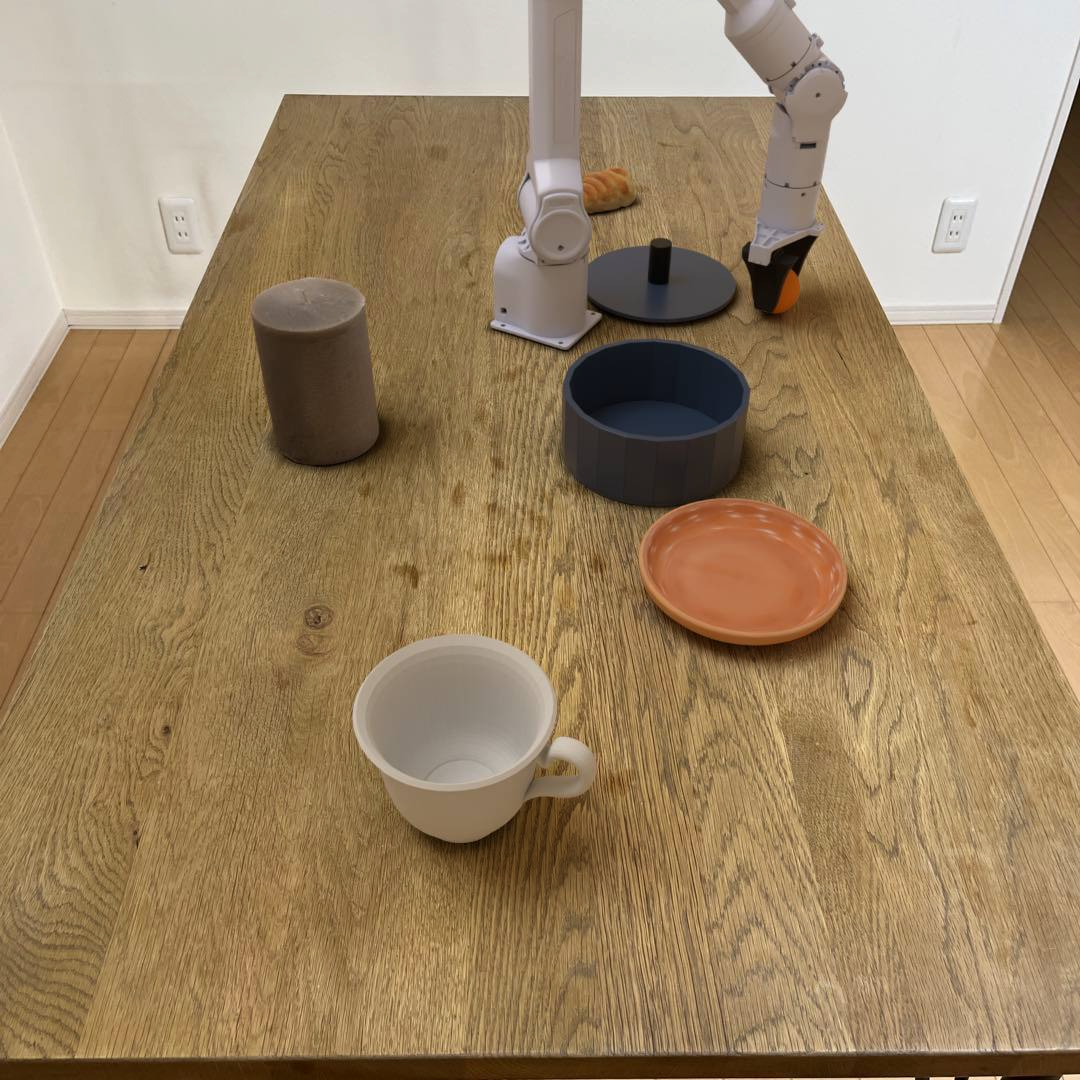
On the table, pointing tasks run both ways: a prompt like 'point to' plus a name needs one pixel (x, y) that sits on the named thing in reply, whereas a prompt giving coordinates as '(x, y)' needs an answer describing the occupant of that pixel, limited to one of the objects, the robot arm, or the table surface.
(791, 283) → the orange
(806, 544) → the saucer
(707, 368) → the pot
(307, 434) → the pillar candle
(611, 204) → the pastry
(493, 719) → the teacup
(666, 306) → the lid
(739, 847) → the table surface
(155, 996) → the table surface
